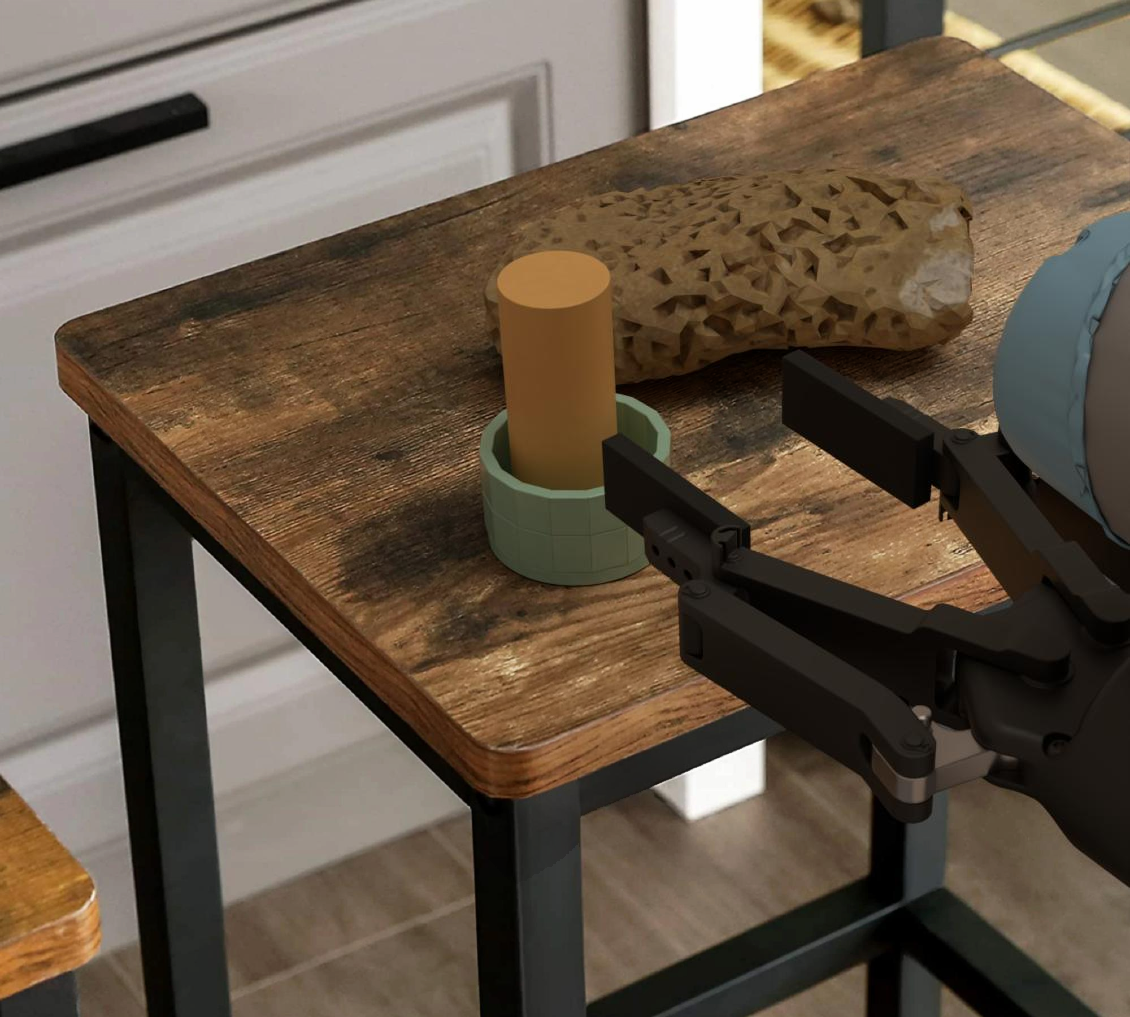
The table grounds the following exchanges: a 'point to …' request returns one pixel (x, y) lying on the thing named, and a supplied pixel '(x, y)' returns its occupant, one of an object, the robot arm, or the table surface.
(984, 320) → the table surface
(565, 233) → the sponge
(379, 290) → the table surface
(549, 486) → the tall orange cylinder
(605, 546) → the green ceramic dish
